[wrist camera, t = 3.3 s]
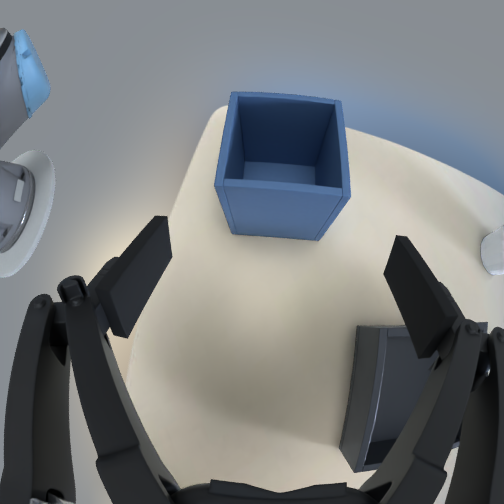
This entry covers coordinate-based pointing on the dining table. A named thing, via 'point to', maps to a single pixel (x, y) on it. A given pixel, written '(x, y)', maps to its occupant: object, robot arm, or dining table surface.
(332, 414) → the dining table surface
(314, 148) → the blue bin
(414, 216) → the dining table surface
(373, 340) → the charcoal bin
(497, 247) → the white cup
